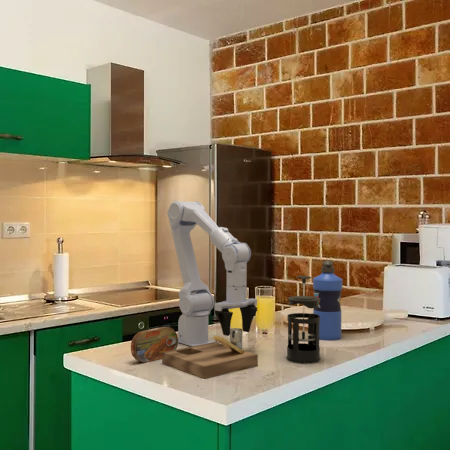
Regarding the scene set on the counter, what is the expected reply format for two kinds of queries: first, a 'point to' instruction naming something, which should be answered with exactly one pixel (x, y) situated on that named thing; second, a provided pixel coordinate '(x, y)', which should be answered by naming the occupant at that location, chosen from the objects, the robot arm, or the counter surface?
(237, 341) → the peg
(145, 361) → the tin
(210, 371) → the pin plate
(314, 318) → the french press
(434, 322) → the counter surface
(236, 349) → the keeper flap
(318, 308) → the water bottle
